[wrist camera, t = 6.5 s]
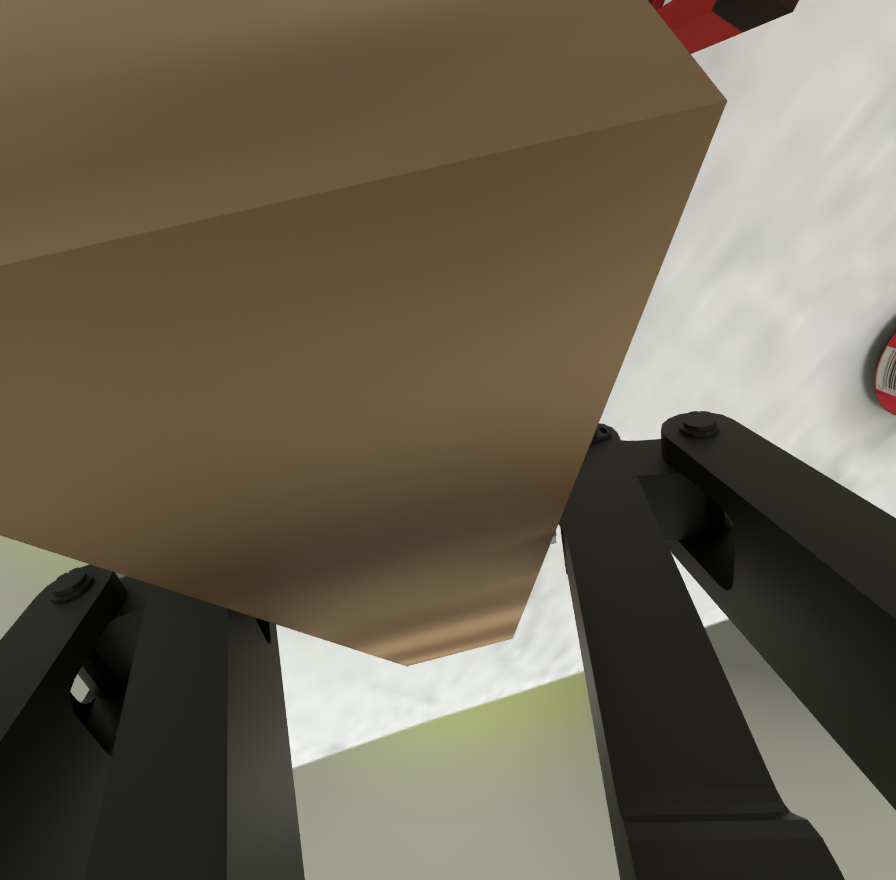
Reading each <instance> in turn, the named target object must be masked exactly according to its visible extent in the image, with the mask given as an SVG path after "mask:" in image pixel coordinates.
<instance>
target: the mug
mask: <svg viewBox="0 0 896 880" xmlns="http://www.w3.org/2000/svg"><path fill="white" fill-rule="evenodd" d="M648 1H649V3H650V4H651V5H652V6H653V8H654V9H655V10H656V11H657V13H658V14H659V15H660V16H661V18H662V19H663V20H664V22H665V23H666V24H667V25H668V27H669V28H670V29H671V30H672V32H673V33H674V34H675V35H676V37H677V38H678V39H679V40H680V42H681V43H682V44H683V46H684V47H685V48H686V49H687V51H688V52H689V53H690V54H692V53H694V52H697V51H699V50H702V49H704V48H706V47H709V46H711V45H714V44H716V43H719V42H721V41H723V40H726V39H728V38H731V37H733V36H736V35H738V34H740V33H743V32H745V31H748V30H750V29H752V28H755V27H757V26H760V25H762V24H765V23H767V22H769V21H772V20H774V19H777V18H779V17H781V16H784V15H786V14H789V13H791V12H793V10H794V8H795V7H796V5H797V3H798V1H799V0H672V1H671V2H669V3H668V4H666V5H664V6H663V3H664V1H665V0H648ZM662 6H663V7H662Z"/></svg>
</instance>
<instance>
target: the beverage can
mask: <svg viewBox="0 0 896 880" xmlns="http://www.w3.org/2000/svg"><path fill="white" fill-rule="evenodd" d="M875 392H876V395H877V398H878V401H879V402H880V404H881V406H882V407H883V408H884V409H885V410H886V411H888V412H890V413H891V414H893V415H896V333H895V334H894V335H893V337H892V338H891V340H890V341H889V343H888V344H887V346H886V347H885V349H884V351H883V353H882V355H881V358H880V360H879V363H878V366H877V370H876V375H875Z"/></svg>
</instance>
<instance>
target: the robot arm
mask: <svg viewBox="0 0 896 880" xmlns="http://www.w3.org/2000/svg"><path fill="white" fill-rule="evenodd" d="M558 524H559V525H560V528H561V536H562V544H563V552H564V559H565V567H566V574H568V579H569V585H570V591H571V597H572V602H573V608H574V614H575V620H576V626H577V631H578V637H579V643H580V649H581V655H582V660H583V666H584V672H585V678H586V684H587V689H588V695H589V701H590V707H591V713H592V718H593V724H594V730H595V736H596V742H597V747H598V753H599V759H600V764H601V771H602V776H603V782H604V788H605V794H606V800H607V805H608V811H609V817H610V823H611V829H612V834H613V840H614V846H615V852H616V857H617V863H618V869H619V875H620V880H845V879H844V877H843V875H842V873H841V871H840V870H839V867H838V865H837V864H836V862H835V860H834V858H833V856H832V855H831V853H830V851H829V849H828V848H827V846H826V844H825V842H824V840H823V838H822V837H821V836H820V835H819V834H818V832H817V831H816V830H815V829H814V827H813V826H812V825H811V823H810V822H809V821H808V820H807V819H805V818H803V817H800V816H798V815H796V814H793V813H791V812H790V811H789V810H788V808H787V807H786V806H785V804H784V803H783V801H782V799H781V797H780V795H779V793H778V792H777V790H776V788H775V785H774V783H773V781H772V779H771V776H770V774H769V772H768V770H767V768H766V765H765V763H764V761H763V759H762V756H761V754H760V752H759V750H758V747H757V745H756V743H755V741H754V738H753V736H752V734H751V732H750V729H749V727H748V725H747V723H746V720H745V718H744V716H743V714H742V711H741V709H740V707H739V705H738V702H737V700H736V698H735V696H734V694H733V691H732V689H731V687H730V684H729V682H728V680H727V678H726V675H725V673H724V671H723V669H722V666H721V664H720V662H719V660H718V657H717V655H716V653H715V651H714V648H713V646H712V644H711V642H710V640H709V637H708V635H707V633H706V630H705V628H704V626H703V624H702V622H701V619H700V617H699V615H698V613H697V610H696V608H695V606H694V604H693V601H692V599H691V597H690V595H689V592H688V590H687V588H686V586H685V583H684V581H683V579H682V577H681V574H680V572H679V570H678V568H677V565H676V563H675V561H674V559H673V556H672V554H673V555H674V556H675V557H676V558H677V559H678V560H679V562H680V563H681V564H682V565H683V566H684V567H685V568H686V570H687V571H688V572H689V573H690V574H691V575H692V577H693V578H694V579H695V580H696V581H697V582H698V583H699V585H700V586H701V587H702V588H703V589H704V590H705V591H706V593H707V594H708V595H709V596H710V597H711V598H712V600H713V601H714V602H715V603H716V604H717V605H718V606H719V608H720V609H721V610H722V611H723V612H724V613H725V614H726V616H727V617H728V618H729V619H730V620H731V621H732V623H733V624H734V625H735V626H736V627H737V628H738V629H739V631H740V632H741V633H742V634H743V635H744V636H745V637H746V639H747V640H748V641H749V642H750V643H751V644H752V646H753V647H754V648H755V649H756V650H757V651H758V652H759V653H760V655H761V656H762V657H763V658H764V659H765V660H766V661H767V663H768V664H769V665H770V666H771V667H772V669H773V670H774V671H775V672H776V673H777V674H778V675H779V677H780V678H781V679H782V680H783V681H784V682H785V683H786V685H787V686H788V687H789V688H790V689H791V690H792V691H793V693H794V694H795V695H796V696H797V697H798V698H799V700H800V701H801V702H802V703H803V704H804V705H805V706H806V707H807V709H808V710H809V711H810V712H811V713H812V715H813V716H814V717H815V718H816V719H817V720H818V721H819V723H820V724H821V725H822V726H823V727H824V728H825V729H826V731H828V733H829V734H830V735H831V736H832V738H833V739H834V740H835V741H836V742H837V743H838V744H839V746H840V747H841V748H842V749H843V750H844V751H845V752H846V754H847V755H848V756H849V757H850V758H851V759H852V761H853V762H854V763H855V764H856V765H857V766H858V767H859V769H860V770H861V771H862V772H863V773H864V774H865V775H866V777H867V778H868V779H869V780H870V781H871V782H872V784H873V785H874V786H875V787H876V788H877V789H878V790H879V792H880V793H881V794H882V795H883V796H884V797H885V798H886V800H887V801H888V802H889V803H890V804H891V805H892V807H893V808H894V809H895V810H896V518H895V517H893V516H891V515H890V514H888V513H886V512H885V511H883V510H881V509H880V508H878V507H876V506H875V505H873V504H871V503H870V502H868V501H867V500H865V499H863V498H862V497H860V496H858V495H857V494H855V493H853V492H852V491H850V490H848V489H847V488H845V487H843V486H842V485H840V484H839V483H837V482H835V481H834V480H832V479H830V478H829V477H827V476H825V475H824V474H822V473H820V472H819V471H817V470H815V469H814V468H812V467H810V466H809V465H807V464H806V463H804V462H802V461H801V460H799V459H797V458H796V457H794V456H792V455H791V454H789V453H787V452H786V451H784V450H782V449H781V448H779V447H778V446H776V445H774V444H773V443H771V442H769V441H768V440H766V439H764V438H763V437H761V436H759V435H758V434H756V433H754V432H753V431H751V430H749V429H748V428H746V427H745V426H743V425H741V424H740V423H738V422H736V421H735V420H733V419H731V418H728V417H726V416H724V415H720V414H715V413H710V412H707V411H700V412H698V411H694V412H689V413H685V414H679V415H677V416H674V417H672V418H669V419H668V420H667V421H665V422H664V423H663V424H662V428H661V439H656V440H642V441H622V440H620V437H619V435H618V433H617V432H616V431H615V430H614V429H613V428H612V427H609V426H607V425H604V424H599V423H598V426H597V428H596V431H595V433H594V436H593V438H592V441H591V443H590V446H589V448H588V451H587V453H586V456H585V458H584V461H583V463H582V466H581V468H580V471H579V473H578V476H577V478H576V481H575V483H574V486H573V488H572V491H571V493H570V496H569V498H568V501H567V503H566V506H565V508H564V511H563V513H562V516H561V518H560V521H559V523H558ZM555 536H556V531H555V533H554V536H553V537H555ZM670 551H671V552H672V554H671V552H670ZM77 674H78V675H79V676H80V678H81V679H82V680H83V681H84V683H85V684H86V685H87V687H88V688H89V689H90V690H89V691H88V693H87V695H86V697H85V699H84V700H83V701H82V702H81V703H80V702H79V701H77V700H76V698H75V697H74V696H73V695H72V693H71V692H70V690H71V687H72V685H73V682H74V679H75V677H76V676H77ZM0 880H305V878H304V868H303V860H302V852H301V842H300V833H299V825H298V815H297V807H296V798H295V789H294V781H293V772H292V763H291V754H290V745H289V736H288V727H287V718H286V710H285V701H284V692H283V683H282V674H281V665H280V657H279V648H278V639H277V630H276V624H274V623H271V622H268V621H265V620H262V619H259V618H256V617H252V616H249V615H246V614H243V613H240V612H237V611H234V610H231V609H228V608H225V607H221V606H218V605H215V604H212V603H209V602H206V601H203V600H200V599H197V598H194V597H190V596H187V595H184V594H181V593H178V592H175V591H172V590H169V589H166V588H162V587H159V586H156V585H153V584H150V583H147V582H144V581H141V580H138V579H135V578H131V577H128V576H124V577H122V578H120V579H119V577H118V576H117V574H116V573H115V572H113V571H110V570H107V569H104V568H100V567H97V566H94V565H91V564H90V565H87V566H84V567H81V568H75V569H73V570H71V571H69V573H65V574H63V575H61V576H59V577H58V578H57V580H56V581H54V582H53V583H51V584H50V585H49V586H47V587H46V588H45V589H44V590H43V591H42V592H41V593H40V594H39V595H38V596H36V598H35V599H34V600H33V601H32V602H31V604H30V605H29V606H28V607H27V608H26V610H25V611H24V612H23V613H22V615H21V616H20V617H19V618H18V619H17V621H16V622H15V623H14V625H13V626H12V627H11V628H10V629H9V630H8V632H7V633H6V634H5V635H4V636H3V638H2V639H1V640H0Z"/></svg>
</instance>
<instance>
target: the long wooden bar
mask: <svg viewBox="0 0 896 880" xmlns="http://www.w3.org/2000/svg"><path fill="white" fill-rule="evenodd" d="M726 103H727V100H726V98H725V97H724V96H723V95H722V93H721V92H720V91H719V90H718V88H717V87H716V86H715V85H714V83H713V82H712V81H711V80H710V78H709V77H708V76H707V75H706V73H705V72H704V71H703V69H702V68H701V67H700V66H699V64H698V63H697V62H696V61H695V59H694V58H693V57H692V56H691V54H690V53H689V52H688V51H687V49H686V48H685V47H684V46H683V44H682V43H681V42H680V40H679V39H678V38H677V37H676V35H675V34H674V33H673V32H672V30H671V29H670V28H669V27H668V25H667V24H666V23H665V22H664V20H663V19H662V18H661V16H660V15H659V14H658V13H657V11H656V10H655V9H654V8H653V6H652V5H651V4H650V3H649V1H648V0H0V535H1V536H4V537H8V538H10V539H13V540H17V541H20V542H23V543H26V544H29V545H32V546H36V547H38V548H41V549H45V550H48V551H51V552H54V553H57V554H60V555H63V556H66V557H70V558H72V559H76V560H79V561H82V562H85V563H88V564H91V565H94V566H97V567H100V568H104V569H107V570H110V571H113V572H116V573H119V574H122V575H125V576H128V577H131V578H135V579H138V580H141V581H144V582H147V583H150V584H153V585H156V586H159V587H162V588H166V589H169V590H172V591H175V592H178V593H181V594H184V595H187V596H190V597H194V598H197V599H200V600H203V601H206V602H209V603H212V604H215V605H218V606H221V607H225V608H228V609H231V610H234V611H237V612H240V613H243V614H246V615H249V616H252V617H256V618H259V619H262V620H265V621H268V622H271V623H274V624H277V625H280V626H284V627H287V628H290V629H293V630H296V631H299V632H302V633H305V634H308V635H311V636H315V637H318V638H321V639H324V640H327V641H330V642H333V643H336V644H339V645H343V646H346V647H349V648H352V649H355V650H358V651H361V652H364V653H367V654H370V655H374V656H377V657H380V658H383V659H386V660H389V661H392V662H395V663H398V664H401V665H405V666H410V665H414V664H417V663H421V662H425V661H429V660H433V659H437V658H440V657H444V656H448V655H452V654H456V653H459V652H463V651H467V650H471V649H475V648H479V647H482V646H486V645H490V644H494V643H498V642H501V641H505V640H509V639H513V636H514V634H515V631H516V629H517V626H518V624H519V621H520V619H521V616H522V614H523V611H524V609H525V606H526V604H527V601H528V599H529V596H530V594H531V591H532V589H533V586H534V584H535V581H536V578H537V576H538V573H539V571H540V568H541V566H542V563H543V561H544V558H545V556H546V553H547V551H548V548H549V546H550V543H551V541H552V538H553V536H554V533H555V531H556V528H557V526H558V523H559V521H560V518H561V516H562V513H563V511H564V508H565V506H566V503H567V501H568V498H569V496H570V493H571V491H572V488H573V486H574V483H575V481H576V478H577V476H578V473H579V471H580V468H581V466H582V463H583V461H584V458H585V456H586V453H587V451H588V448H589V446H590V443H591V441H592V438H593V436H594V433H595V431H596V428H597V426H598V423H599V421H600V418H601V416H602V413H603V411H604V408H605V406H606V403H607V401H608V398H609V396H610V393H611V391H612V388H613V386H614V383H615V381H616V378H617V376H618V373H619V371H620V368H621V366H622V363H623V361H624V358H625V356H626V353H627V351H628V348H629V346H630V343H631V341H632V338H633V336H634V333H635V331H636V328H637V325H638V323H639V320H640V318H641V315H642V313H643V310H644V308H645V305H646V303H647V300H648V298H649V295H650V293H651V290H652V288H653V285H654V283H655V280H656V278H657V275H658V273H659V270H660V268H661V265H662V263H663V260H664V258H665V255H666V253H667V250H668V248H669V245H670V243H671V240H672V238H673V235H674V233H675V230H676V228H677V225H678V223H679V220H680V218H681V215H682V213H683V210H684V208H685V205H686V203H687V200H688V198H689V195H690V193H691V190H692V188H693V185H694V183H695V180H696V178H697V175H698V173H699V170H700V168H701V165H702V163H703V160H704V158H705V155H706V153H707V150H708V148H709V145H710V143H711V140H712V138H713V135H714V133H715V130H716V128H717V125H718V123H719V120H720V118H721V115H722V113H723V110H724V108H725V105H726Z"/></svg>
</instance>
